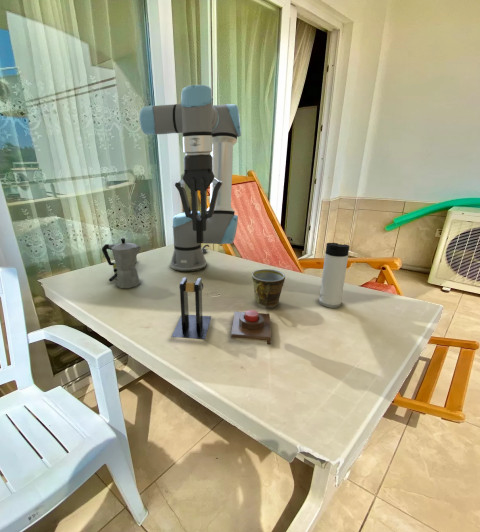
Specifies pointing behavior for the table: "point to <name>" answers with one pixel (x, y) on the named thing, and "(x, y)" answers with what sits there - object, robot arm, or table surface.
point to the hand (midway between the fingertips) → (200, 241)
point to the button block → (251, 327)
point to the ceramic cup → (268, 286)
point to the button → (251, 315)
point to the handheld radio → (115, 271)
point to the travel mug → (333, 274)
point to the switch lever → (191, 287)
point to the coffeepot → (124, 263)
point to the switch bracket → (188, 323)
